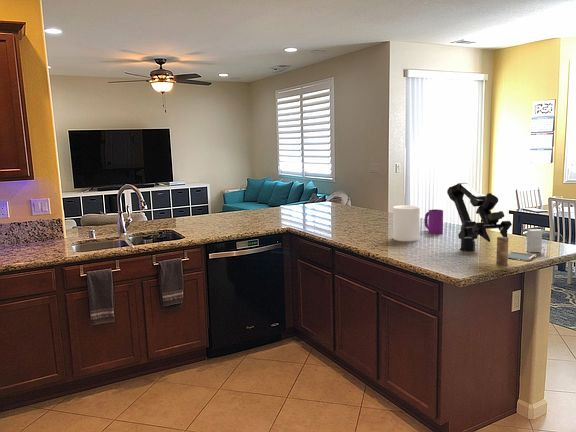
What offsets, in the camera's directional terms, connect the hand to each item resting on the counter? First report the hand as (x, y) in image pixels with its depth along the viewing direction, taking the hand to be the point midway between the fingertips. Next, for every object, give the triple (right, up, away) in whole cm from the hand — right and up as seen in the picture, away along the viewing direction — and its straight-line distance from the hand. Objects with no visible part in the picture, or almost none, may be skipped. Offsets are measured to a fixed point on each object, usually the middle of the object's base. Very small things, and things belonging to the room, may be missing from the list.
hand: (498, 240), depth 233 cm
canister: (-30, -2, +63) cm, 70 cm away
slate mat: (+15, -9, +9) cm, 20 cm away
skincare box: (+28, -7, +19) cm, 35 cm away
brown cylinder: (+1, -11, -2) cm, 11 cm away
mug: (-8, +1, +81) cm, 81 cm away
